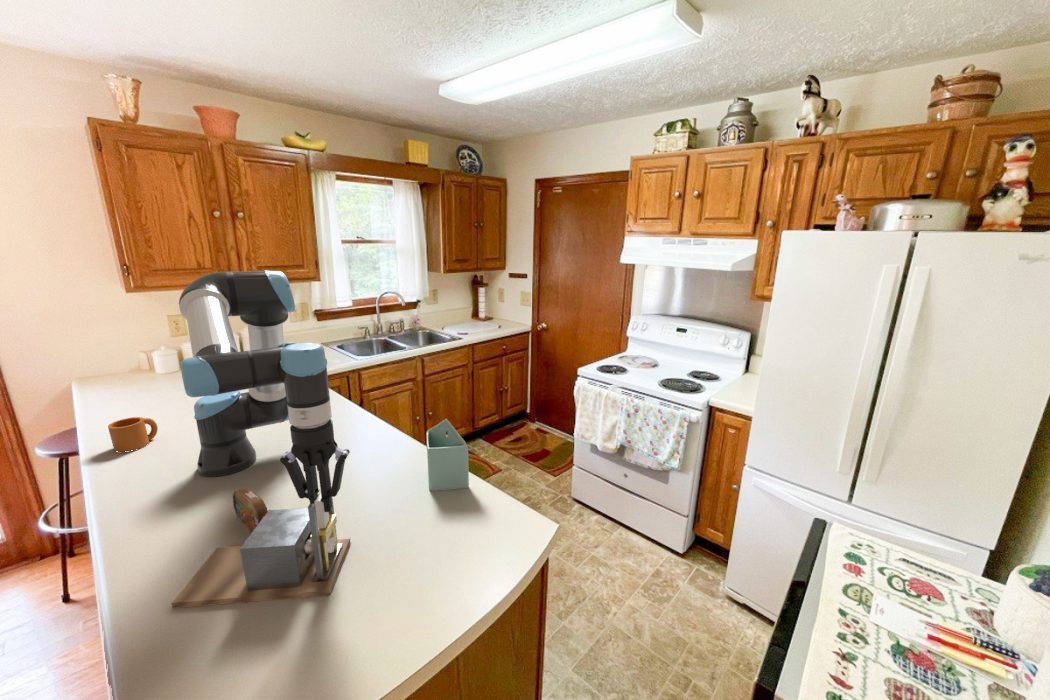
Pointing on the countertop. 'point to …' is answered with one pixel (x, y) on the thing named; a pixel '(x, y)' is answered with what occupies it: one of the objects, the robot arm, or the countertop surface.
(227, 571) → the board
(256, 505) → the tin
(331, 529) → the bracket
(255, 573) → the block
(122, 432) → the mug
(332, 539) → the pin
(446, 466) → the planter
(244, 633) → the countertop surface
